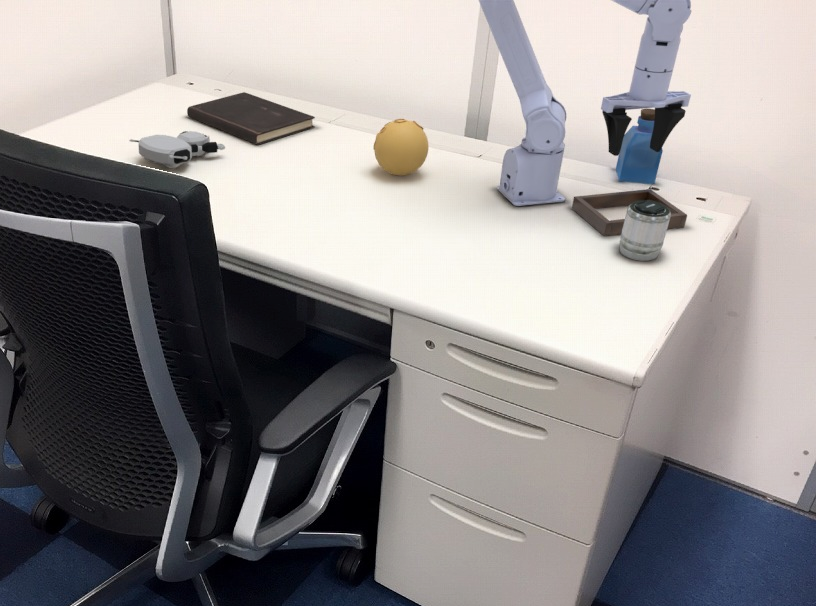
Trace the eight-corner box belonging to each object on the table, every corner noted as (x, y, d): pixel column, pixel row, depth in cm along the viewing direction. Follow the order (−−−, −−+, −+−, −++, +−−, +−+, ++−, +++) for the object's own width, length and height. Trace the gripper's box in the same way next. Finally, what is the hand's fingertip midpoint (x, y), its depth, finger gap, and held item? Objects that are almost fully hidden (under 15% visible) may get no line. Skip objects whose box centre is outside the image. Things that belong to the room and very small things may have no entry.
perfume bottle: (654, 184, 154) (671, 118, 147) (618, 181, 155) (633, 115, 148) (650, 171, 159) (666, 107, 152) (615, 168, 160) (630, 104, 153)
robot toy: (188, 146, 172) (127, 160, 162) (188, 123, 169) (126, 136, 160) (229, 161, 165) (168, 177, 155) (229, 138, 162) (167, 153, 153)
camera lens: (609, 250, 133) (620, 203, 128) (633, 240, 136) (645, 193, 131) (643, 266, 129) (656, 217, 124) (668, 254, 132) (681, 207, 127)
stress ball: (437, 176, 157) (442, 122, 151) (394, 188, 153) (398, 133, 147) (403, 159, 164) (407, 107, 158) (362, 170, 159) (364, 117, 154)
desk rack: (603, 236, 137) (606, 223, 136) (571, 208, 146) (573, 196, 144) (684, 227, 140) (687, 214, 138) (647, 200, 148) (650, 188, 147)
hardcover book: (244, 102, 192) (244, 91, 191) (314, 127, 178) (314, 116, 177) (187, 117, 183) (186, 107, 182) (256, 145, 170) (256, 134, 168)
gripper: (625, 77, 129) (606, 164, 137) (710, 71, 132) (687, 156, 140) (602, 65, 135) (585, 148, 142) (683, 59, 137) (662, 141, 145)
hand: (634, 151), depth 141 cm, fingers open, 7 cm apart
